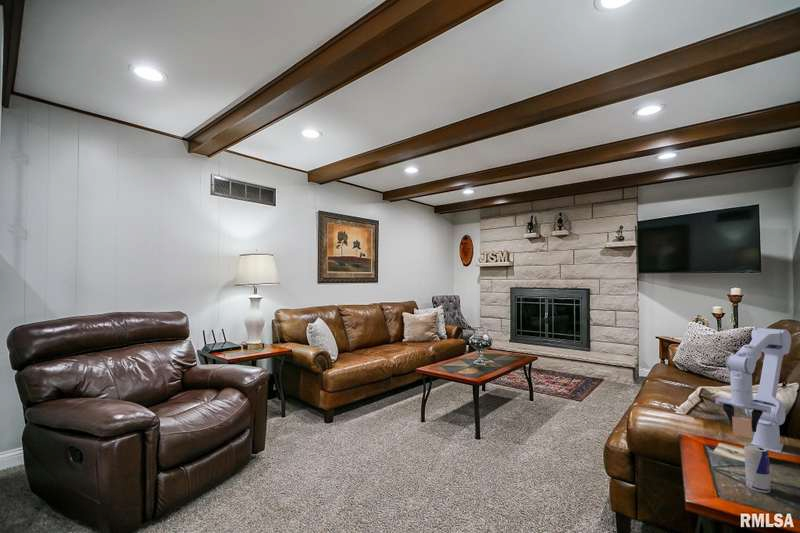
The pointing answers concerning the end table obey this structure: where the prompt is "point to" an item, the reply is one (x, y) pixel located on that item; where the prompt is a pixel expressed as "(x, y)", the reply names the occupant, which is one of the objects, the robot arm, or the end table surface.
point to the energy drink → (757, 468)
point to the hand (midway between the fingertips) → (743, 428)
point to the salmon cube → (742, 425)
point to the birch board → (730, 451)
